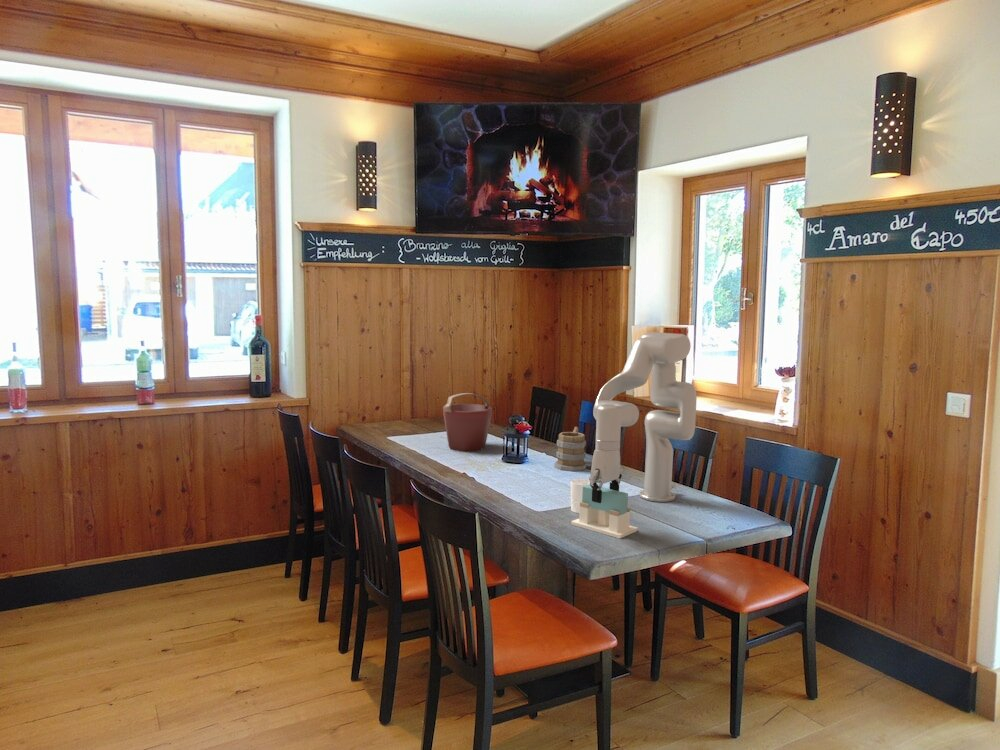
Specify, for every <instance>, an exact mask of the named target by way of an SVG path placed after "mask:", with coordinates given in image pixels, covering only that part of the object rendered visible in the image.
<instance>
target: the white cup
mask: <svg viewBox="0 0 1000 750" xmlns="http://www.w3.org/2000/svg"><path fill="white" fill-rule="evenodd" d="M589 484H590V481H589V478H588V479H587V478H574V479H571V480H570V486H569V487H570V511H571V512H573V513H575V514H579V513H580V502H582V494H583V486H586V485H589Z"/></svg>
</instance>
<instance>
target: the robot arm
mask: <svg viewBox="0 0 1000 750" xmlns="http://www.w3.org/2000/svg"><path fill="white" fill-rule="evenodd" d="M690 350H691V340H690V338H689V337H688V336H687V335H686V334H683V333H671V332H658V331H657V332H656V331H655V332H649V331H648V332H645V333H642V334H641V336H640V337H638V338H637V339H636V340H635V341H634V343H633V344H632V347H631V350H630V352H629V354H628V357H627V359H626V362H625V364H624V367H623V369H622V371H621V372H620V373H618V374H616V375H615V376H613V377H612V378H611V379H609V380H608V381H607V382H606V383H605V384H604V385H603V386H602V387H601V389H600V390H599V392H598V395H597V397H596V399H595V401H594V402H595V403H594V406H593V410H592V411H593V412H592V414H593V417H594V419H595V421H596V422H595V423H596V424H595V427H596V429H595V442H594V443H595V447H594V448H595V449H594V451H593V453H592V454H593V455H592V460H591V461H592V462H591V468H590V476H589V477H588V480H589V481H590V486H591V489H592V501H593V502H597V503H601V500H602V490H601V487H603V485H604V484H606V483H609V489H612V490H616V491H620V484H621V478H622V477H623V475H622V474H623V470H624V468H623V467H622V466H621V451H620V450H621V433H622V432H621V431H622V428H623V427H625V428H626V427H632V426H633V425H635V424H636V423H637V422H638V419H639V417H640V410H639V408H638V406H637V405H636V404H634V403H631V402H627V401H620V400H613V399H614V398H615V397H617V396H618V395H619V394H621V393H624V392H627V391H631V390H634V389H637V388H639V387H643V386H644V385H646V384H647V382H648V379H649V376H650V388H649V389H650V391H649V394H650V395H649V396H650V397H649V398H650V402H651V403H652V405H654V406H657V407H660V408H661V407H662V408H667V409H675V410H676V409H677V410H678V411H671V410H664V409H663V410H662V409H654V410H651V411H649V412H647V414H646V415H645V417H644V430H645V431H644V432H645V439H646V441H645V443H646V444H645V446H646V447H645V465H644V485H643V489H642V490H640V491H639V495H638V496H639V497H640V498H642V499H643V500H646V501H650V502H659V503H665V502H667V503H668V502H672V501H675V499H676V494H675V493H673V492H672V490H673V489H674V488H676V484H675V482H672V479H673V463H674V462H673V461H674V449H673V445H672V443H671V441H670V440H671V439H672V440H676V441H677V440H679V441H689V440H691V439H692V438H693V437H694V435H695V431H696V430H695V429H696V420H697V419H696V418H697V416H696V415H697V398H698V397H697V396H698V395H697V391H696V390H697V389H696V387H695V386H694V385H693V384H692V383H691V382H690V383H689V382H684V381H679V380H678V381H677V380H676V377H677V375H676V373H677V372H676V371H677V367H676V363H678V362H681V361H682V360H685V359H686V357H688V355H689V353H690Z"/></svg>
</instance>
